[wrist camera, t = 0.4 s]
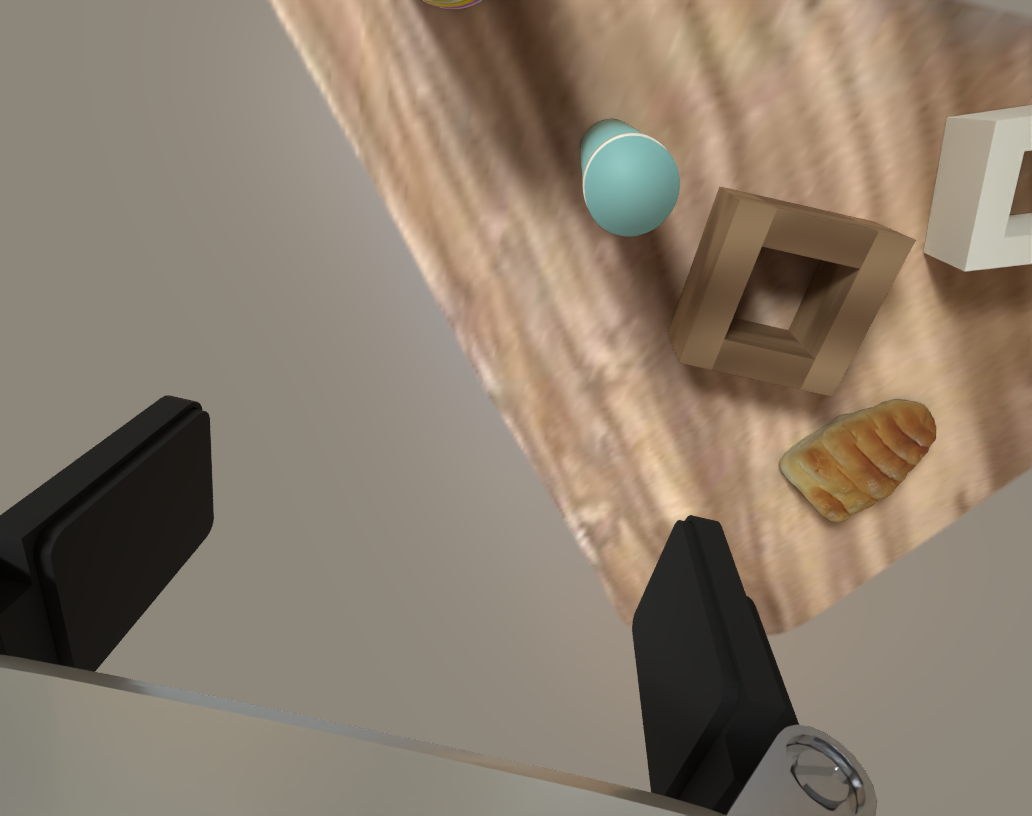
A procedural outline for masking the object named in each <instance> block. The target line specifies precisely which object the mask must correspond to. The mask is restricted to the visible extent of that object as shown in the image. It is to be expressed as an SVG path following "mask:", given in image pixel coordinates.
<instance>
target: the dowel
mask: <svg viewBox="0 0 1032 816" xmlns="http://www.w3.org/2000/svg"><path fill="white" fill-rule="evenodd" d="M580 160H581V168H582V175H583V194H584V199H585V202H586V205H587V207H588V210H589V212H590V214H591V215H592V217H593V218H594V220H595V221H596V222H597V223H598V224H599V225H600V226H601V227H602V228H603V229H605V230H607V231H608V232H610V233H613V234H616V235H619V236H638V235H642V234H645V233H647V232H649V231H651V230H653V229H655V228H656V227H658V226H659V225H660V224H661V223H662V222H664V220H665V219H666V218H667V217H668V216H669V214H670V213H671V212H672V210H673V208H674V206H675V204H676V201H677V198H678V194H679V188H680V178H679V172H678V168H677V165H676V163H675V161H674V159H673V157H672V156H671V155H670V153H669V152H668V151H667V150H666V148H665V147H664V146H663V145H662V144H661V143H659V142H658V141H656V140H655V139H653V138H651V137H649V136H647V135H644V134H642V133H641V132H639V131H637V130H636V129H634V128H633V127H631V126H629V125H628V124H626V123H625V122H623V121H620V120H617V119H605V120H602V121H599V122H597V123H596V124H594V125H593V126H592V127H590V128H589V130H588V131H587V132H586V134H585V135H584V137H583V139H582V142H581V146H580Z"/></svg>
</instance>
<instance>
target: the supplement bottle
mask: <svg viewBox="0 0 1032 816" xmlns="http://www.w3.org/2000/svg"><path fill="white" fill-rule="evenodd" d="M422 1H424V2H425V3H427V4H430V5H432V6H435V7H439V8H444V9H462V8H467V7H470V6H473V5H475V4H477V3H479V2H481V1H483V0H422Z"/></svg>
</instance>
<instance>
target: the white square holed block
mask: <svg viewBox="0 0 1032 816" xmlns="http://www.w3.org/2000/svg"><path fill="white" fill-rule="evenodd" d="M1030 150H1032V105H1027V106H1020V107H1013V108H1006V109H1000V110H993V111H986V112H980V113H973V114H966V115H960V116H953V117H947V120H946V126H945V132H944V137H943V143H942V149H941V155H940V160H939V166H938V172H937V178H936V183H935V189H934V195H933V201H932V206H931V212H930V218H929V223H928V229H927V235H926V241H925V246H924V252H923V253H926V254H928V255H930V256H932V257H934V258H936V259H939V260H941V261H943V262H945V263H947V264H949V265H952V266H954V267H956V268H958V269H960V270H962V271H964V272H965V271H974V270H982V269H991V268H1000V267H1009V266H1018V265H1026V264H1032V213H1026V214H1018V215H1010V216H1009V214H1010V210H1011V206H1012V202H1013V197H1014V193H1015V189H1016V185H1017V180H1018V176H1019V172H1020V168H1021V163H1022V159H1023V155H1024V151H1030Z"/></svg>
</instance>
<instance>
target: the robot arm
mask: <svg viewBox="0 0 1032 816" xmlns="http://www.w3.org/2000/svg"><path fill="white" fill-rule="evenodd" d="M213 520H214V514H213V488H212V462H211V437H210V417H209V414H208V413H207V412H206V411H202V407H201V405H200V403H198V402H196V401H191V400H187V399H183V398H178V397H174V396H164V397H162V398H160V399H159V400H158V401H156V402H155V403H154V404H152V405H151V406H149V407H148V408H147V409H145V410H144V411H143V412H141V413H140V414H139V415H137V416H136V417H134V418H133V419H132V420H130V421H129V422H128V423H126V424H125V425H123V426H122V427H121V428H119V429H118V430H117V431H115V432H114V433H112V434H111V435H110V436H108V437H107V438H106V439H104V440H103V441H102V442H100V443H99V444H97V445H96V446H95V447H93V448H92V449H91V450H89V451H88V452H86V453H85V454H84V455H82V456H81V457H80V458H78V459H77V460H75V461H74V462H73V463H72V464H70V465H69V466H67V467H66V468H65V469H63V470H62V471H60V472H59V473H58V474H56V475H55V476H54V477H52V478H51V479H49V480H48V481H47V482H45V483H44V484H43V485H41V486H40V487H39V488H37V489H36V490H34V491H33V492H32V493H30V494H29V495H28V496H26V497H25V498H23V499H22V500H21V501H19V502H18V503H17V504H15V505H14V506H13V507H11V508H10V509H8V510H7V511H6V512H4V513H3V514H2V515H0V816H876V809H877V798H876V794H875V790H874V786H873V784H872V782H871V780H870V778H869V777H868V774H867V773H866V770H864V768H863V767H862V765H861V764H860V763H859V762H858V760H857V759H856V757H855V756H854V755H853V754H852V753H851V752H850V751H849V750H847V748H845V747H844V746H843V745H842V744H841V743H840V742H839V741H837V740H836V739H834V738H833V737H831V736H830V735H828V734H826V733H825V732H823V731H820V730H818V729H815V728H813V727H810V726H803V725H799V723H798V720H797V718H796V715H795V712H794V709H793V707H792V704H791V701H790V699H789V696H788V693H787V691H786V688H785V685H784V682H783V680H782V677H781V674H780V671H779V669H778V666H777V663H776V660H775V658H774V655H773V653H772V650H771V647H770V644H769V641H768V639H767V636H766V633H765V630H764V628H763V625H762V622H761V620H760V617H759V614H758V611H757V609H756V606H755V604H754V602H753V601H752V600H751V599H750V598H749V597H748V596H746V594H745V591H744V588H743V585H742V582H741V580H740V577H739V574H738V571H737V568H736V566H735V563H734V560H733V557H732V554H731V552H730V549H729V546H728V543H727V540H726V537H725V535H724V532H723V529H722V526H721V524H720V523H719V522H718V521H714V520H710V519H705V518H701V517H697V516H692V515H690V516H688V517H687V518H686V520H685V521H681V520H678V521H677V522H676V523H675V525H674V527H673V529H672V532H671V534H670V536H669V538H668V540H667V543H666V545H665V547H664V549H663V552H662V554H661V556H660V558H659V560H658V563H657V565H656V567H655V569H654V572H653V574H652V576H651V578H650V580H649V583H648V585H647V587H646V589H645V592H644V594H643V596H642V598H641V601H640V603H639V605H638V607H637V609H636V612H635V614H634V618H633V625H632V632H633V641H634V650H635V658H636V667H637V675H638V683H639V692H640V701H641V709H642V717H643V726H644V735H645V743H646V752H647V759H648V769H649V777H650V786H651V793H650V792H646V791H642V790H638V789H634V788H629V787H625V786H621V785H617V784H613V783H609V782H604V781H600V780H596V779H592V778H588V777H583V776H579V775H575V774H571V773H566V772H562V771H557V770H552V769H548V768H543V767H539V766H534V765H530V764H525V763H521V762H516V761H512V760H507V759H503V758H498V757H494V756H489V755H484V754H480V753H475V752H471V751H466V750H462V749H457V748H453V747H448V746H444V745H439V744H435V743H430V742H425V741H421V740H416V739H411V738H407V737H402V736H398V735H392V734H388V733H384V732H379V731H374V730H369V729H365V728H360V727H356V726H350V725H346V724H341V723H337V722H332V721H327V720H323V719H318V718H314V717H309V716H304V715H299V714H295V713H290V712H286V711H281V710H276V709H272V708H267V707H262V706H258V705H253V704H248V703H243V702H238V701H233V700H229V699H223V698H219V697H214V696H210V695H205V694H200V693H195V692H190V691H186V690H181V689H176V688H171V687H166V686H162V685H156V684H152V683H147V682H142V681H137V680H133V679H128V678H123V677H118V676H113V675H109V674H103V673H98V672H95V671H96V670H97V669H98V667H99V666H100V665H101V664H102V663H103V661H104V660H105V659H106V658H107V657H108V655H109V654H110V653H111V652H112V650H113V649H114V648H115V647H116V646H117V645H118V643H119V642H120V641H121V640H122V638H123V637H124V636H125V635H126V634H127V633H128V631H129V630H130V629H131V628H132V626H133V625H134V624H135V623H136V622H137V620H138V619H139V618H140V617H141V616H142V614H143V613H144V612H145V611H146V610H147V608H148V607H149V606H150V605H151V604H152V602H153V601H154V600H155V599H156V597H157V596H158V595H159V594H160V593H161V591H162V590H163V589H164V588H165V586H166V585H167V584H168V583H169V582H170V581H171V580H172V578H173V577H174V576H175V575H176V574H177V572H178V571H179V570H180V569H181V567H182V566H183V565H184V564H185V563H186V561H187V560H188V559H189V558H190V557H191V555H192V554H193V553H194V552H195V551H196V549H197V548H198V547H199V546H200V544H201V543H202V542H203V540H205V539H206V537H207V536H208V534H209V532H210V530H211V527H212V525H213Z"/></svg>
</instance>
